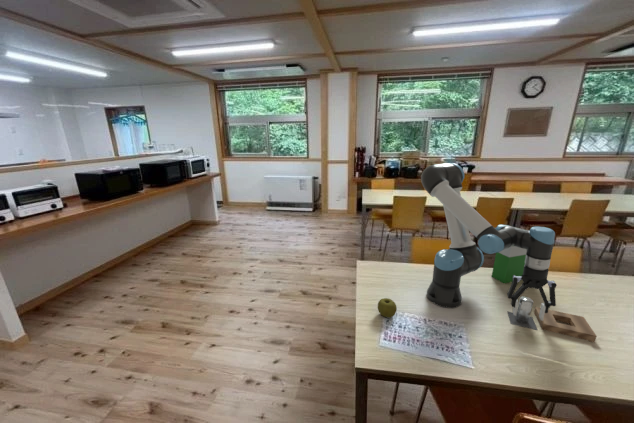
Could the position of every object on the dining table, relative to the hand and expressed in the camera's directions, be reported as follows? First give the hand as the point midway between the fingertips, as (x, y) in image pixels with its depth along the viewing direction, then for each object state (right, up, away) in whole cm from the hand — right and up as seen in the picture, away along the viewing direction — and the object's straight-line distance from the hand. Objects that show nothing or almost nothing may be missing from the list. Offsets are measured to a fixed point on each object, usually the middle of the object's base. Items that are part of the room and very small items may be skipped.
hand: (527, 316), depth 112 cm
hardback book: (+18, +7, +35) cm, 40 cm away
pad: (-1, -3, +2) cm, 3 cm away
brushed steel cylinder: (-1, -2, +1) cm, 3 cm away
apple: (-57, -2, +6) cm, 57 cm away
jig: (+13, -4, -2) cm, 13 cm away
